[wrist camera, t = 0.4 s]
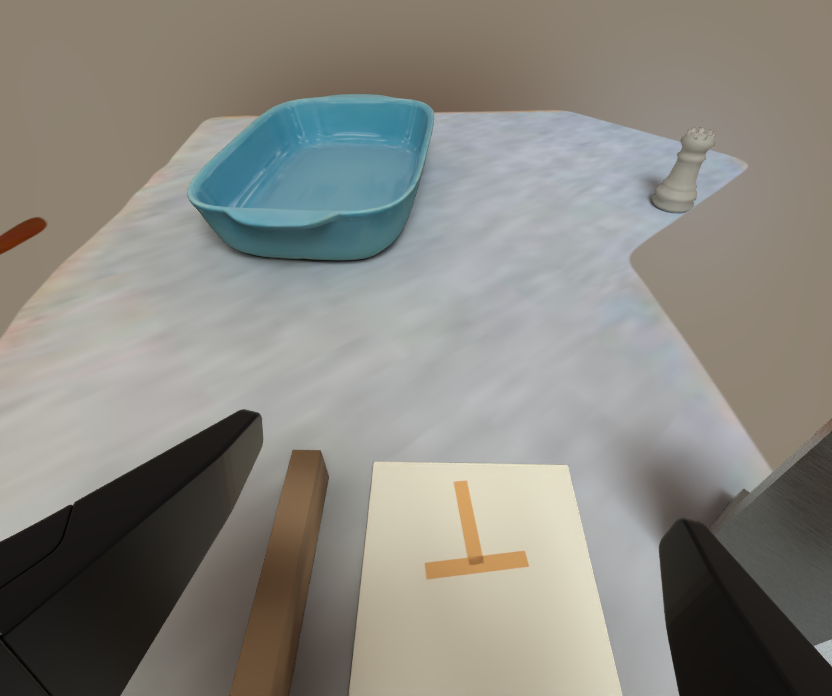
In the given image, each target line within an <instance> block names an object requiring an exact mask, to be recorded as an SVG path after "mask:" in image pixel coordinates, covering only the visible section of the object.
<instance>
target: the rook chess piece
mask: <svg viewBox="0 0 832 696" xmlns="http://www.w3.org/2000/svg"><path fill="white" fill-rule="evenodd" d="M704 130H705V129H704V128H700V129H699V131H698V132H695V131H696V128H691V129H689V130H688V132H687V134H686V135H685V136H683V137H682V138H681V144H682V149H681V151H680V152H679V153H677V156H678V159H677V161H676V164H675V165H674V167H673V169H672V171H671V173H670V174H669V176H668V177H667V178H666V179H665V180H664V181H663V183H662V184H660V185H658V187H657V188H656V191H655V192H656V194H655V195H653V196H652V201H653V203H654V205H655V206H656V207H657V208H659V209H661V210H663V211H666V212H671V213H683V212H686V211H688V210H689V209H691V208H692V207H694V203H693V201H694V200H696V197H697V191H696V188H697V186H696V179H697V175H698V172H699V169H700V166H701V164H702V162H703V161H704V160H706V156H705V154H706V152H707V151H708V150H709V149H710V148H712V147H713V146H714V145H715V142H714V136H715V133H713V131H712V130H708V131H707V134H705V133H703V132H704Z"/></svg>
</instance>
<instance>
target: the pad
mask: <svg viewBox="0 0 832 696" xmlns="http://www.w3.org/2000/svg"><path fill="white" fill-rule="evenodd" d="M349 696H622V691H621V687H620V683H619V679H618V675H617V670H616V666H615V662H614V658H613V654H612V649H611V645H610V641H609V637H608V633H607V629H606V624H605V620H604V616H603V612H602V608H601V603H600V599H599V595H598V591H597V587H596V582H595V578H594V574H593V570H592V566H591V561H590V557H589V553H588V549H587V545H586V540H585V536H584V532H583V528H582V524H581V519H580V515H579V511H578V507H577V503H576V498H575V494H574V490H573V486H572V482H571V477H570V473H569V469H568V465H533V464H477V463H421V462H374V466H373V475H372V484H371V493H370V503H369V512H368V521H367V531H366V540H365V549H364V558H363V568H362V577H361V586H360V595H359V605H358V614H357V623H356V633H355V642H354V651H353V660H352V670H351V679H350V688H349Z"/></svg>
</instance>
